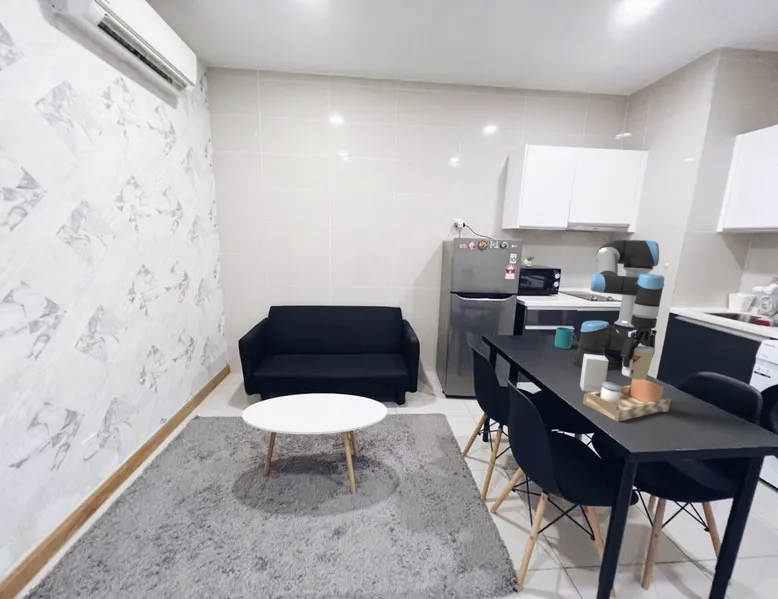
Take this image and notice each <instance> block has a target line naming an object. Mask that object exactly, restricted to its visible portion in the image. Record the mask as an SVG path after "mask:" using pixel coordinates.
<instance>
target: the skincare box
mask: <svg viewBox="0 0 778 599" xmlns="http://www.w3.org/2000/svg"><path fill="white" fill-rule="evenodd" d="M609 361H610V360H608V358H607V357H606V356H601V355H591V354H584V358H583V365H582V367H581V372H580V380H579V381H580V382H579V387H580V388H581V390H582V391H583V392H586V393H589V392H590V393H591V392H596V391H601V390H602V383H603V382H607V381H606V380H607V374H608V369H609V368H608V366H609Z"/></svg>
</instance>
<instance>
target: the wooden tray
mask: <svg viewBox="0 0 778 599" xmlns="http://www.w3.org/2000/svg"><path fill="white" fill-rule="evenodd" d="M621 386H622V385H621ZM630 388H631V384H629V385H624V386H622V391H621V395H620V400H619V406H617V405H615V404H613V403H611V402H608V401H606V400H604V399H602V398H600V396H601V391H596V392H586V393H584V395H583V400H582V404H583V405H585V406H587V407H589V408H591V409H593V410H595V411H597V412H599V413H600V414H602V415H603V416H604V415H605V416H606V417H609V419H612V420H614V421H616V422H622V421H628V420H630V419H634V418H635V419H636V418H639V417H643V416H648V415H651V414H654V413H659V412H664V413H665V412H666V413H667V412H669V411H670V405H671V400H672V399H671V398H668V397H666V398H661V400H656V401H652V402H647V403H645V402H643V401H641V400H638V399H636V398H634V397H631V396H629V394H630Z"/></svg>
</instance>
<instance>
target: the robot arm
mask: <svg viewBox="0 0 778 599" xmlns="http://www.w3.org/2000/svg"><path fill="white" fill-rule="evenodd" d="M595 259H596V262H597V273H594V274H592V275H591V281H590V287H589V288H590V291H591V292H594V293H600V294H611V295H612V294H614V295H622V296H621V300H620V301H621V302H620V308H619V313H618V314H619V315H618V319H617V320H616V321H614V323H613V325H610V324H609V322H608V321H604V320H586V321H584V322H583V323H582V324H581V328H580V335H579V336H580V337H579V341H578V342H579V343H578V346H577V350H576V352H575V353H574V355H573V356H572V364H574V365H575V366H578V367H580V368H582V365H583V358H584V354H591V355H601V356H605V350H606V349H608V350H609V349H610V350H615V351H621V352H620V357H622V358H623V357H624V364H623V369H622V368H621V374H622V375H623V374H624V375H626V376H630V375H631V369H632V364H633V359H632V357H633V355H634V350H635V348H637V347H638V345H639V344H640V343H641V345H644V346H651V347H653V348H654V353H653V356H654V355H655V352H656V351H655V350H656V337H657V330H656V329H655V328H657V323H658V318H657V317H659V310H660V305H661V299H662V295H663V289H664V287H665V276H663V275H661V274H655V273H654V274H653V273H652V274H651V272H652V271H654V267H657V266H658V265H659V261H660V247H659V243H658V242H656V241H654V240H641V239H640V240H638V239H634V240H633V239H615V240H612V241H611V240H610V241H608V242H606V243H605V244H602V246H600V247H599V248H598V250H597V252H596V254H595ZM618 265H623V266H622V269H623V270H624V271H626V272H625V275H619V269H618V268H619V267H618ZM629 355H630V356H629ZM605 357H606V356H605ZM624 375H623V376H624ZM626 376H625V377H626Z"/></svg>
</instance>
